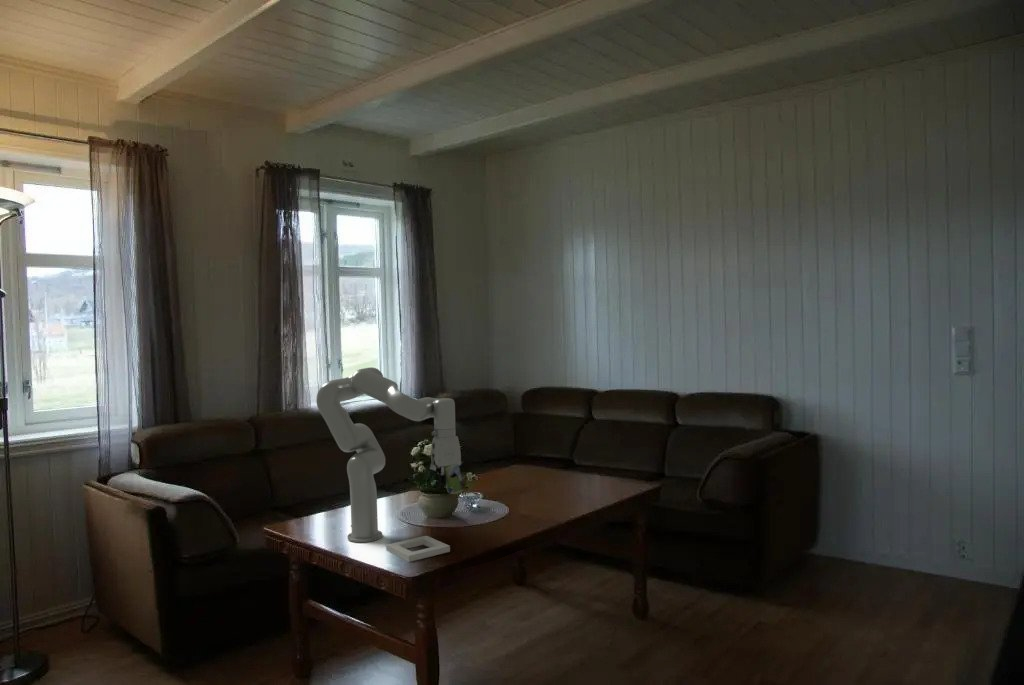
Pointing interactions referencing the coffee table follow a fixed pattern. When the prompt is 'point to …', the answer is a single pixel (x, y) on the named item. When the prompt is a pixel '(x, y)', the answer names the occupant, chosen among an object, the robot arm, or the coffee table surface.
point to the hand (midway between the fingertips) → (446, 484)
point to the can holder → (402, 552)
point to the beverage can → (453, 479)
